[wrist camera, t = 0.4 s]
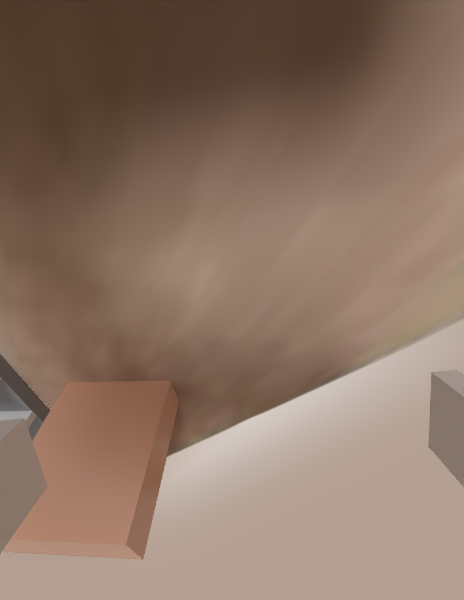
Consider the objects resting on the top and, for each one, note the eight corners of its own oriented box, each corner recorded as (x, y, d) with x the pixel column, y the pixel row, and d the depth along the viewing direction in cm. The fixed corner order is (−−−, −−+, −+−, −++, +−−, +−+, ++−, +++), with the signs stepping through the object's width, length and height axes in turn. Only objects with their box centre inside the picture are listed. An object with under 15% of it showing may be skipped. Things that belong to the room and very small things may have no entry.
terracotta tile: (66, 382, 34) (-25, 537, 23) (170, 380, 32) (125, 544, 21) (82, 403, 36) (6, 551, 25) (179, 401, 35) (143, 559, 24)
